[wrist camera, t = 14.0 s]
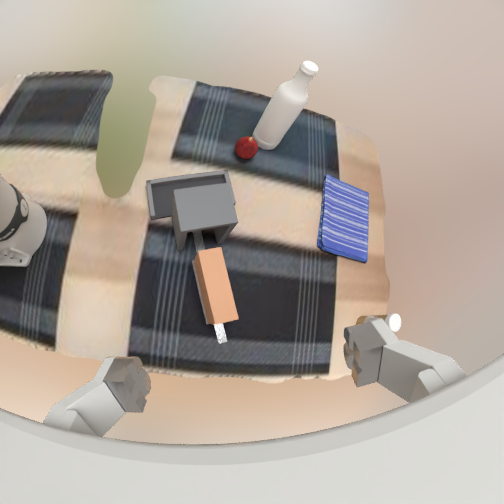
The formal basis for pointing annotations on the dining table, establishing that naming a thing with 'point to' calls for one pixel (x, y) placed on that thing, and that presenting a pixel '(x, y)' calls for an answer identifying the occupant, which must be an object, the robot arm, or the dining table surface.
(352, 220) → the dish towel
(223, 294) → the orange rectangular block
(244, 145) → the onion
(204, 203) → the tunnel
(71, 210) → the dining table surface
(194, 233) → the rail
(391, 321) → the sprinkles bottle
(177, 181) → the tray
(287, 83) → the bottle
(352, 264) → the dining table surface
